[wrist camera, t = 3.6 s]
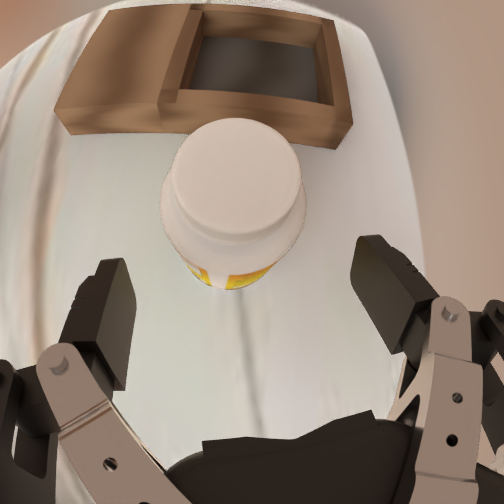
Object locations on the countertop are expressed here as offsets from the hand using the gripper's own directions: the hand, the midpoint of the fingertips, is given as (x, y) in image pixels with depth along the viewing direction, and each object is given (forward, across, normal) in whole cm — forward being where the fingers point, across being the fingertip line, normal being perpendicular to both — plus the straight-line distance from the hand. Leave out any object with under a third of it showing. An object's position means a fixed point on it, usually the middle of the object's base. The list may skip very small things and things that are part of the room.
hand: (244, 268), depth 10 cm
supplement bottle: (+8, 0, +4) cm, 9 cm away
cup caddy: (+18, +1, -6) cm, 19 cm away
